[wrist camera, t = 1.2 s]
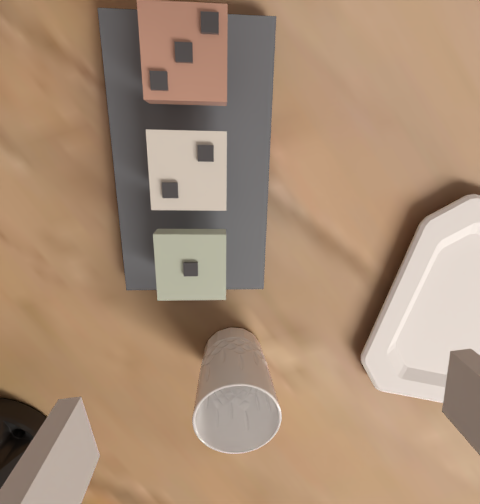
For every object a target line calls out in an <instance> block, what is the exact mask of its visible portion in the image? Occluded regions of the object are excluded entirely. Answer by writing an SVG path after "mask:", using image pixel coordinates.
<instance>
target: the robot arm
mask: <svg viewBox="0 0 480 504" xmlns="http://www.w3.org/2000/svg"><path fill="white" fill-rule="evenodd" d="M442 412H443V413H444V414H445V415H446V417H447V418H448V419H449V420H450V421H451V422H452V424H453V425H454V426H455V427H456V428H457V429H458V431H459V432H460V433H461V434H462V435H463V436H464V437H465V439H466V440H467V441H468V442H469V443H470V444H471V446H472V447H473V448H474V449H475V450H476V451H477V453H478V454H479V455H480V355H479V354H477V353H476V352H475V351H474V350H472V349H463V350H455V351H450V357H449V365H448V372H447V379H446V386H445V393H444V400H443V408H442ZM99 457H100V454H99V451H98V448H97V445H96V442H95V439H94V436H93V432H92V429H91V426H90V423H89V420H88V417H87V413H86V410H85V407H84V404H83V401H82V398H81V397H74V398H66V399H59V400H58V401H57V403H56V404H55V406H54V407H53V409H52V410H51V412H50V414H49V415H48V417H47V418H46V417H45V416H44V415H42V414H41V413H39V412H38V411H36V410H35V409H33V408H31V407H29V406H27V405H25V404H22V403H19V402H17V401H13V400H9V399H4V398H0V504H81V503H82V500H83V498H84V495H85V492H86V490H87V487H88V485H89V482H90V480H91V477H92V475H93V472H94V470H95V467H96V464H97V462H98V459H99Z"/></svg>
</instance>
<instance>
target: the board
mask: <svg viewBox="0 0 480 504" xmlns="http://www.w3.org/2000/svg"><path fill="white" fill-rule="evenodd" d="M98 17H99V26H100V36H101V46H102V56H103V66H104V75H105V85H106V95H107V105H108V114H109V124H110V134H111V144H112V153H113V163H114V173H115V183H116V193H117V202H118V212H119V222H120V232H121V241H122V251H123V261H124V271H125V281H126V290H157V286H156V272H155V257H154V243H153V234H154V232H155V231H156V230H157V229H226V289H264V267H265V246H266V224H267V203H268V181H269V160H270V138H271V117H272V95H273V74H274V52H275V30H276V16H257V15H236V14H228V29H227V106H209V105H175V104H149V103H148V102H146V101H145V100H144V99H143V84H142V70H141V55H140V41H139V27H138V12H137V10H134V9H113V8H98ZM146 129H148V130H189V131H227V202H226V211H199V210H151V200H150V185H149V171H148V156H147V142H146Z"/></svg>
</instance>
